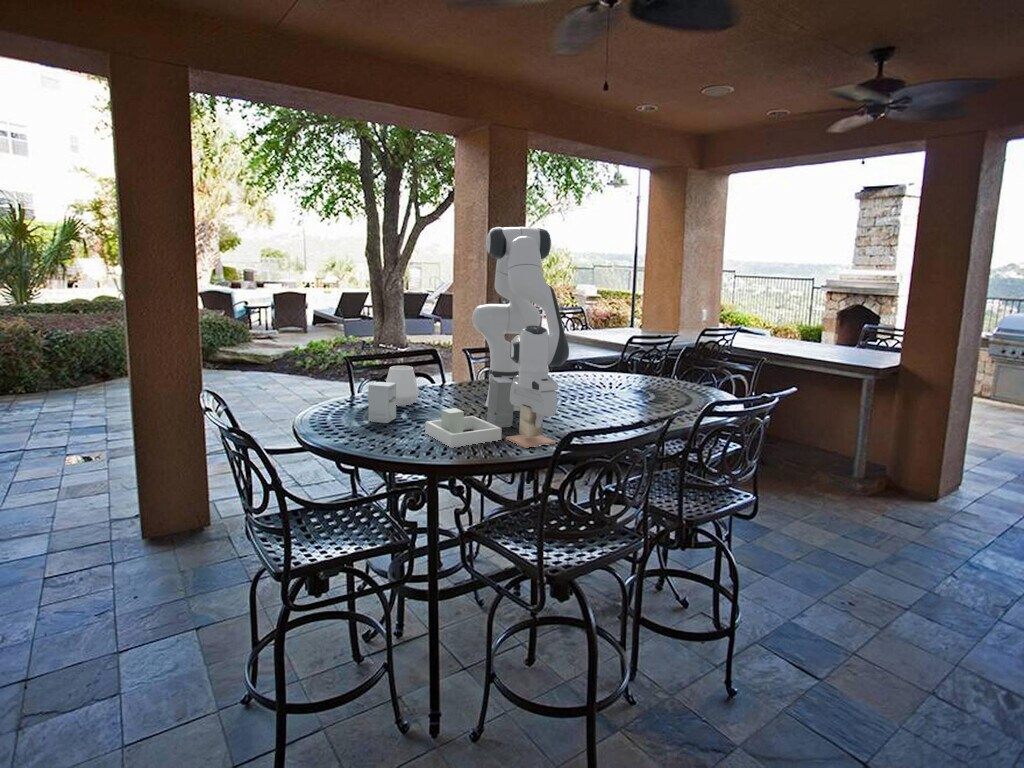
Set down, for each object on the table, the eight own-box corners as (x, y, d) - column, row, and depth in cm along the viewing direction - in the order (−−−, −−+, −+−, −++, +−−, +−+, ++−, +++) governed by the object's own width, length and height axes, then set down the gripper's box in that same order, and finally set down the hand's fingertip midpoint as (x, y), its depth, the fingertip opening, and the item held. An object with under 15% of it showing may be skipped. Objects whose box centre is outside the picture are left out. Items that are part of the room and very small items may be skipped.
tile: (534, 435, 199) (534, 432, 199) (555, 444, 190) (555, 441, 190) (505, 439, 193) (505, 436, 193) (525, 449, 184) (526, 445, 184)
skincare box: (486, 422, 214) (487, 377, 211) (505, 421, 217) (506, 376, 214) (495, 428, 206) (496, 381, 203) (515, 427, 209) (516, 380, 206)
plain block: (455, 435, 196) (455, 408, 194) (463, 439, 192) (463, 411, 190) (441, 437, 193) (441, 409, 191) (448, 442, 189) (449, 413, 187)
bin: (473, 427, 206) (473, 415, 206) (501, 440, 192) (501, 428, 191) (425, 433, 197) (425, 421, 196) (451, 448, 183) (451, 435, 182)
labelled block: (532, 431, 195) (533, 402, 193) (541, 435, 191) (543, 405, 189) (519, 433, 192) (520, 404, 190) (528, 437, 188) (529, 407, 186)
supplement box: (388, 423, 208) (388, 386, 205) (367, 421, 209) (367, 384, 207) (396, 418, 215) (396, 382, 213) (376, 416, 216) (376, 381, 214)
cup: (405, 398, 247) (405, 363, 245) (426, 404, 238) (426, 368, 236) (376, 402, 238) (376, 366, 235) (397, 409, 229) (397, 371, 226)
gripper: (505, 375, 195) (504, 418, 198) (544, 387, 178) (542, 433, 181) (522, 373, 198) (520, 415, 201) (561, 385, 182) (559, 431, 184)
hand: (531, 424), depth 191 cm, fingers closed on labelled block, 5 cm apart
